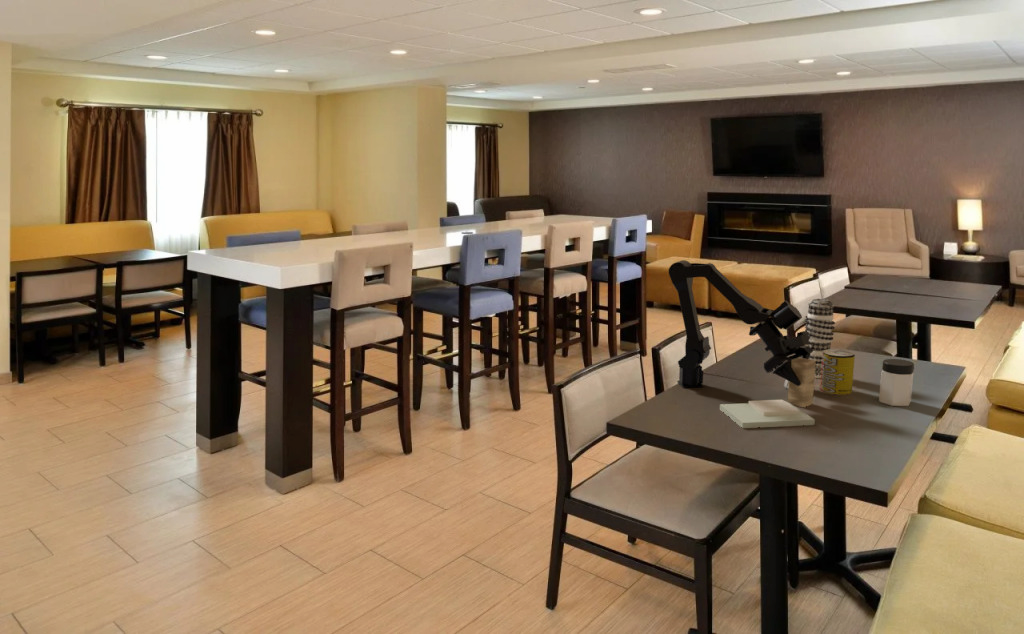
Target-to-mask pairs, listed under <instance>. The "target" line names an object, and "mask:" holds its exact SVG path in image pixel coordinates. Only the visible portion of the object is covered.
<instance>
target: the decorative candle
mask: <svg viewBox="0 0 1024 634" xmlns="http://www.w3.org/2000/svg"><path fill="white" fill-rule="evenodd" d="M807 305H808V311H807V315H805V320H804V322H805V323H806V324H805V325H804V328H805V329H804V331H805V332H806V333H807V334H808V336H810V339H809V343H810V344H808V346H810V348H811V349H812V350H813V352H812V353H811V354H810V357H809V359H810V360H815V361H816V363H815V377H814V379H821V370H822V357H823V351H824V350H829V349H831V346H832V345H831V343H833V340H834V337H833V336H834V335H835V334H834V332H833V330H834V329H835V328H836V327H835V326H834V325H835V324H836V322H835V321H834V307H835V306H836V305H835V304H833V301H831V300H830V299H827V298H826V299H824V298H814V299H812V300H811V301H810V302H809V303H808V304H807Z"/></svg>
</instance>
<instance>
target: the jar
mask: <svg viewBox="0 0 1024 634" xmlns="http://www.w3.org/2000/svg"><path fill="white" fill-rule="evenodd" d="M881 367H882V368H881V372H880V373H881V374H880V383H879V393H878V394H879V396H878V402H879V403H881V404H885V405H888V406H892V407H909V405H910V404H911V402H912V392H913V382H914V372H915V371H914V370H915V364H914V362H913V361H911V360H906V359H898V358H886V359H883V361H882V366H881Z"/></svg>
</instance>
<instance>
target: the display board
mask: <svg viewBox="0 0 1024 634" xmlns="http://www.w3.org/2000/svg"><path fill="white" fill-rule="evenodd" d="M719 410H720V411H721V412H722V413H723V412H724V413H723V414H725V415H726V416H727V417H728V416H729V417H730V418H729V417H728V418H729V419H731V421H733V422H734V423H735V422H736V423H735V424H737V425H738V426H739V427H740V428H741V427H742V428H741V429H754V428H758V427H760V428H775V427H776V428H777V427H796V426H797V427H799V426H803V425H804V426H815V420H816V419H814V418H813V417H812V416H810V415H808V414H807V413H805V412H804V411H803V410H801V409H800V408H798V407H797V406H795V405H792V404H790V403H789V402H788V401H785V400H784V399H764V400H748V402H746V403H745V402H743V403H722V404H721V403H720V404H719Z"/></svg>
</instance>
